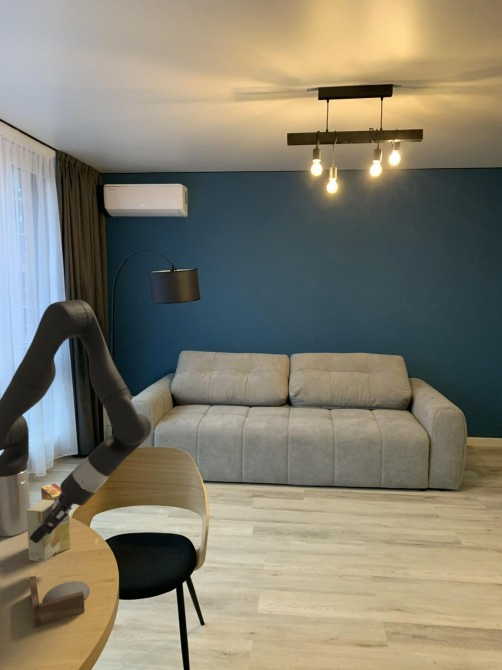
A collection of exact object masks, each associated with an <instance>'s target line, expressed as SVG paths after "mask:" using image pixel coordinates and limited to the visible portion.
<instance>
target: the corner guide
mask: <svg viewBox="0 0 502 670" xmlns="http://www.w3.org/2000/svg"><path fill="white" fill-rule="evenodd" d="M29 586H30V597H31V598H30V599H31V600H30V601H31V606H32V608H31V609H32V615H33V624H34V625H33V626H34V628H37V627H41V626H44V625H47V624H50V623H53V622H56V621H59V620H63V619H66V618H69V617H70V618H71V617H73V616H75V615H79V614H82V613H85V600H84V594H83V591H81V592H78V593H74V594H71V595H67V596H64V597H60V598H57V599H54V600H50V601H47V602H44V601H43V602H41V603H40V600H39V591H38V584H37V577H36V575H34V576H29Z"/></svg>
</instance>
